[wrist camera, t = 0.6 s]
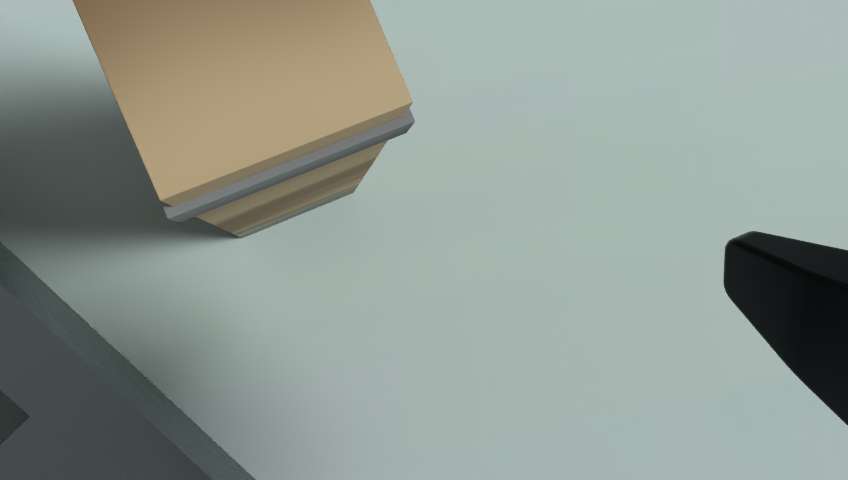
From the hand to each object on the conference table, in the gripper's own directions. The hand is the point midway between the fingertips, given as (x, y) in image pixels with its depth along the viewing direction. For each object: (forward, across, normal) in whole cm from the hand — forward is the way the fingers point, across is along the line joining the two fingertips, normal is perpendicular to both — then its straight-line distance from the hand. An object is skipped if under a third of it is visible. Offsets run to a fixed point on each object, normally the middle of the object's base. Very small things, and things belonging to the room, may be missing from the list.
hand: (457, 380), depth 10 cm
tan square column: (+15, +1, +3) cm, 15 cm away
